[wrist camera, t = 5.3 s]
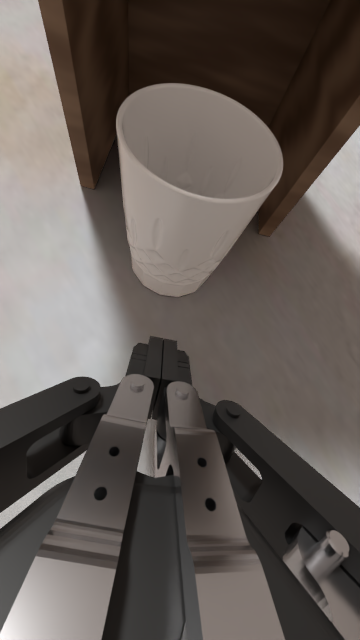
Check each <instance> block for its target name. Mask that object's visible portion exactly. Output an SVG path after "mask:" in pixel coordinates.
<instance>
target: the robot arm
mask: <svg viewBox="0 0 360 640" xmlns="http://www.w3.org/2000/svg"><path fill="white" fill-rule="evenodd" d="M152 410H153V411H152ZM151 414H152V419H155V420H157V427H156V430H155V434H154V456H155V478H154V477H150V476H147V475H145V474H142V473H140V472H137V466H138V462H139V457H140V452H141V447H142V443H143V438H144V433H145V428H146V424H147V420H148V419H150V418H151ZM236 448H237V449H238V450H239V451H240V452H241V453H242V454H243V455H244V456H245V457H246V458H247V459H248V460H249V461H250V462H251V463H252V464H253V465H254V466H255V467H256V468H257V469H258V470H259V472H260V474H261V476H262V480H261V479H260V478H259V477H258V476H257V475H256V474H255V473H254V472H253V471H252V470H251V469H250V468H249V467H248V466H247V465H246V464H245V463H244V461H243V460H242V459H241V458H240V457H239V456H238V455H237V454H236V453H235V452H234V451H235V449H236ZM86 450H87V451H86ZM85 451H86V453H85V456H84V458H83V460H82V462H81V465H80V467H79V469H78V471H77V474H76V476H74V477H72V478H69V479H67V480H65V481H63V482H61V483H59V484H57V485H56V486H54V487H53V488H51V489H50V490H48V491H47V492H45V493H44V494H43V495H42V496H40V497H39V498H38V499H37V500H35V501H34V502H33V503H32V504H31V505H29V506H28V507H27V508H26V509H24V510H23V511H22V512H21V513H19V514H18V515H17V516H16V517H15V518H13V519H12V520H11V521H10V522H8V523H7V524H6V525H5V526H3V527H2V528H1V529H0V640H360V508H359V507H358V506H357V505H356V504H355V503H354V502H352V501H351V500H350V499H349V498H348V497H347V496H345V495H344V494H343V493H342V492H341V491H340V490H338V489H337V488H336V487H335V486H334V485H333V484H331V483H330V482H329V481H328V480H327V479H326V478H324V477H323V476H322V475H321V474H320V473H318V472H317V471H316V470H315V469H314V468H313V467H311V466H310V465H309V464H308V463H307V462H306V461H304V460H303V459H302V458H301V457H300V456H299V455H297V454H296V453H295V452H294V451H293V450H292V449H290V448H289V447H288V446H287V445H286V444H285V443H283V442H282V441H281V440H280V439H279V438H278V437H276V436H275V435H274V434H273V433H272V432H270V431H269V430H268V429H267V428H266V427H265V426H263V425H262V424H261V423H260V422H259V421H258V420H256V419H255V418H254V417H253V416H252V415H251V414H249V413H248V412H247V411H246V410H245V409H244V408H242V407H241V406H240V405H238V404H237V403H235V402H232V401H228V400H223V401H220V402H218V403H217V405H216V406H214V405H212V404H210V403H207V402H205V401H203V400H201V399H200V398H199V396H198V393H197V391H196V389H195V388H194V387H193V386H192V380H191V373H190V365H189V357H188V356H187V354H186V353H185V352H184V351H180V350H177V341H174V340H169V339H164V340H163V338H158V337H153V336H150V339H149V344H142V343H138V344H137V345H136V346H135V347H134V348H133V352H132V355H131V359H130V362H129V365H128V369H127V372H126V376H125V377H124V378H123V379H122V381H121V382H120V383H119V384H117V385H114V386H109V387H100V384H99V383H98V382H97V381H96V380H94V379H92V378H89V377H75V378H72V379H69V380H67V381H65V382H62V383H60V384H58V385H55V386H53V387H51V388H48V389H46V390H43V391H41V392H39V393H36V394H34V395H32V396H29V397H27V398H25V399H22V400H20V401H17V402H15V403H13V404H10V405H8V406H6V407H3V408H1V409H0V513H1V512H2V511H4V510H5V509H6V508H8V507H9V506H10V505H12V504H13V503H15V502H16V501H17V500H19V499H20V498H21V497H23V496H24V495H26V494H27V493H28V492H30V491H31V490H32V489H34V488H35V487H37V486H38V485H39V484H41V483H42V482H43V481H45V480H46V479H48V478H49V477H50V476H52V475H53V474H55V473H56V472H57V471H59V470H60V469H61V468H63V467H64V466H66V465H67V464H68V463H70V462H71V461H72V460H74V459H75V458H77V457H78V456H79V455H81V454H82V453H83V452H85Z"/></svg>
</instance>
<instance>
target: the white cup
mask: <svg viewBox="0 0 360 640" xmlns="http://www.w3.org/2000/svg"><path fill="white" fill-rule="evenodd" d="M116 131H117V141H118V151H119V162H120V172H121V183H122V194H123V207H124V214H125V222H126V230H127V239H128V243H129V246H130V254H131V262H132V269H133V272H134V273H135V275H136V276H137V277H138V279H139V280H140V281H141V283H142V284H143V285H144V286H145V287H147V288H149V289H151V290H152V291H154V292H156V293H158V294H159V295H166V296H174V297H180V296H183V295H186V294H189V293H193V292H195V291H196V290H197V289H198V288H199V287H200V286H201V285H202V284H203V283H204V282H205V281H206V280H207V279H208V277H209V276H210V274H211V273H212V272H213V271H214V270H215V269H216V267H217V266H218V265H219V264H220V262H221V261H222V260H223V258H224V257H225V256H226V254H227V253H228V252H229V251H230V249H231V248H232V246H233V245H234V244H235V242H236V241H237V239H238V238H239V237H240V235H241V234H242V232H243V231H244V229H245V228H246V227H247V225H248V224H249V222H250V221H251V220H252V218H253V217H254V215H255V214H256V213H257V211H258V210H259V208H260V207H261V206H262V204H263V203H264V201H265V200H266V199H267V197H268V196H269V194H270V193H271V192H272V190H273V189H274V187H275V186H276V185H277V183H278V182H279V180H280V178H281V175H282V171H283V156H282V151H281V148H280V146H279V143H278V141H277V140H276V138H275V136H274V135H273V133H272V132H271V130H270V129H269V128H268V127H267V125H266V124H265V123H264V122H263V121H262V120H261V119H260V118H259V117H258V116H257V115H255V114H254V113H253V112H252V111H250V110H249V109H248V108H246V107H245V106H243V105H242V104H240V103H239V102H237V101H235V100H233V99H231V98H230V97H227V96H225V95H223V94H221V93H218V92H216V91H213V90H210V89H207V88H203V87H199V86H195V85H189V84H181V83H162V84H155V85H151V86H147V87H144V88H142V89H139V90H137V91H135V92H134V93H132V94H131V95H130V96H128V97H127V98H126V99H125V100H124V102H123V103H122V104H121V106H120V108H119V110H118V113H117V118H116Z"/></svg>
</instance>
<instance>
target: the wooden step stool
mask: <svg viewBox="0 0 360 640" xmlns="http://www.w3.org/2000/svg"><path fill="white" fill-rule="evenodd" d="M38 2H39V6H40V11H41V15H42V19H43V24H44V28H45V32H46V37H47V41H48V45H49V50H50V54H51V58H52V63H53V67H54V71H55V76H56V80H57V85H58V89H59V93H60V98H61V102H62V106H63V111H64V115H65V119H66V124H67V128H68V132H69V137H70V141H71V146H72V150H73V154H74V159H75V163H76V167H77V172H78V176H79V180H80V185H81V186H84V187H88V188H91V189H95V186H96V184H97V181H98V179H99V176H100V174H101V171H102V169H103V166H104V164H105V161H106V159H107V156H108V154H109V151H110V149H111V146H112V144H113V141H114V139H115V136H116V134H117V131H116V118H117V113H118V110H119V108H120V106H121V104H122V103H123V102H124V100H125V99H126V98H127V97H128V96H130V95H131V94H132V93H134V92H135V91H137V90H139V89H142V88H144V87H147V86H151V85H155V84H162V83H181V84H189V85H195V86H199V87H203V88H207V89H210V90H213V91H216V92H218V93H221V94H223V95H225V96H227V97H230V98H231V99H233V100H235V101H237V102H239V103H240V104H242V105H243V106H245V107H246V108H248V109H249V110H250V111H252V112H253V113H254V114H255V115H257V116H258V117H259V118H260V119H261V120H262V121H263V122H264V123H265V124H266V125H267V127H268V128H269V129H270V130H271V132H272V133H273V135H274V136H275V138H276V140H277V141H278V143H279V146H280V148H281V151H282V156H283V171H282V175H281V178H280V180H279V182H278V183H277V185H276V186H275V187H274V189H273V190H272V192H271V193H270V194H269V196H268V197H267V199H266V200H265V201H264V203H263V204H262V206H261V207H260V208H259V223H258V234H261V235H265V236H269V237H270V235H271V234H272V233H273V232H274V230H275V229H276V228H277V227H278V226H279V224H280V223H281V222H282V221H283V219H284V218H285V217H286V216H287V214H288V213H289V212H290V211H291V209H292V208H293V207H294V206H295V205H296V203H297V202H298V201H299V200H300V198H301V197H302V196H303V195H304V193H305V192H306V191H307V190H308V189H309V187H310V186H311V185H312V184H313V182H314V181H315V180H316V179H317V177H318V176H319V175H320V174H321V173H322V171H323V170H324V169H325V168H326V166H327V165H328V164H329V163H330V161H331V160H332V159H333V158H334V156H335V155H336V154H337V153H338V152H339V150H340V149H341V148H342V147H343V145H344V144H345V143H346V142H347V140H348V139H349V138H350V137H351V136H352V134H353V133H354V132H355V131H356V129H357V128H358V127H359V126H360V0H38Z"/></svg>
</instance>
